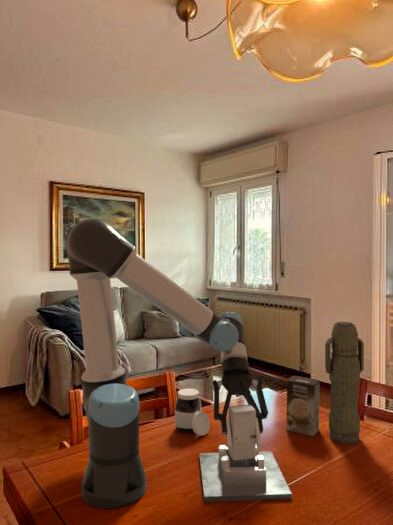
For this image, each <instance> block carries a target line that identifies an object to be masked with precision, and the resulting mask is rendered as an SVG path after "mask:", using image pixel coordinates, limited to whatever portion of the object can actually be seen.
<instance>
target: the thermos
mask: <svg viewBox="0 0 393 525" xmlns="http://www.w3.org/2000/svg"><path fill="white" fill-rule="evenodd" d="M364 344H365V342H364V341H363V339H361V338H359V333H358V330H357V327H356V324H354V323H352V322H347V321H337V322H336V323H334V324H333V327H332V329H331V337H329V338H327V340H326V342H325V346H324V347H325V348H324V350H325V351H324V354H325V357H324V359H325V360H324V361H325V362H324V364H325V366H324V367H325V373H326V374H329V375H328V377H329V381H330V409H329V413H328V429H329V436H330V437H329V436H328V437H329V438H330V439H331V440H332V441H333V442H336V443H340V444H344V445H355V444H357V443H359V441H360V433H361V417H360V415H359V384H360V382H361V373H362V372H363V371H364V369H365V368H364V367H365V366H364V365H365V362H364V359H365V357H364V356H365V355H364V354H365V353H364V352H365V350H364V349H365V348H364V347H365V345H364Z"/></svg>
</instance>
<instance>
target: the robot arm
mask: <svg viewBox="0 0 393 525" xmlns="http://www.w3.org/2000/svg"><path fill="white" fill-rule="evenodd" d="M65 251H66V253H67V259H68V268H69V269H68V270H69V275H70V277H72V278H73V279H74V280H75V281H76V286H77V295H78V305H79V312H80V313H79V314H80V322H81V323H80V324H81V332H82V340H83V341H82V342H83V350H84V351H83V352H84V359H85V368H86V369H85V371H84V372H83V374H81V377H80V378H81V388H82V396H81V399H82V401H81V402H82V406H83V409H84V411H85V416H86V419H87V424H88V462H87V465H86V469H85V471H84V474H83V477H82V481H81V487H80V488H81V489H80V490H81V498H82V500H83V501H84V502H85V503H86V504H88V505H90V506H92V507H95V508H100V509H117V508H120V507H125V506H128V505H131V504H133V503H135V502H136V501H138V500H139V499H140V498H141V497H143V496H144V494H145V493H146V491H147V474H146V471H145V469H144V466H143V463H142V460H141V457H140V456H141V455H140V408H141V407H140V406H141V405H140V399H139V393H138V392H137V391H136V389H135V388H133V387H132V386H130V385H128V383H127V375H126V374H127V373H126V368H125V367H123V366H122V365H120V360H119V352H118V343H117V342H118V341H117V334H116V331H117V330H116V323H115V322H116V321H115V312H114V304H113V303H114V302H113V296H112V295H113V294H112V284H111V279H117V280H119V281H120V282H122V283H123V284H124V285H125V286H127V287H128V288H130V289H131V290H132V291H134V292H135V293H137V294H138V295H139V296H141V297H142V298H144V299H145V300H146V301H148V302H149V303H150V304H152V305H153V306H155V308H157V309H159V310H161V312H163V313H164V314H166V315H167V316H169V317H170V318H171V319H173V320H174V321H176V322H177V323H178V324H179V332H180V333H181V335H182V336H186V337H188V338H193V339H196V340H198V341H201V342H202V343H204V344H206V345H208V346H209V347H211V348H213V349H214V350H215V351H220V363H221V374H222V377H221V380H220V379H219V380H215V379H214V380H212V385H211V388H212V390H213V394H214V395H213V420H215V421H219V422H220V425H221V433H222V435H226V442H227V446H226V447H228V449H231V447H232V441H231V431H230V420H229V418H227V415H228V414H229V406H231V405H230V404H231V400H232V397H233V396H236V395H237V396H239V395H240V396H243V398H244V399H245V401H246V404H247V405H251V406H252V407H253V408H254V409H255V410H256V446H257V449H259V450H260V449H261V447H262V439H261V434H263V432H264V425H263V420H266V419H267V417H268V415H269V411H268V407H267V403H266V398H265V394H264V391H263V380H262V379H260V378H259V379H258V380H257V379H253V378H252V376H251V374H250V366H249V361H248V354H247V352H248V351H247V348H246V340H245V331H244V329H245V328H244V325H243V324H244V323H243V320H242V318H241V316H240V315H239V314H238V313H236V312H234V311H230V312H223V313H221V314H217V313H216V312H214V311H213V310H212V309H210V308H209V307H207V305H205V304H204V303H202V302H201V301H200V300H198V299H197V298H196V297H195V296H193V295H191V294H190V293H189V291H187V290H185V289H184V288H183V287H182V286H180V285H179V284H177V283H176V282H175V281H174V280H172V279H171V278H170V277H168V276H167V275H166V274H165V273H163V272H161V271H160V270H159V269H158V268H157V267H155V266H154V265H153V264H151V263H150V262H148V261H147V260H146V259H144V258H143V257H142V256H140V254H138V253H137V252H136V247H135V246H134V245H133V244H132V243H131V242H129V240H127V239H126V238H125V237H124V236H122V234H120V233H119V232H118V231H117V230H115V229H114V227H113V226H111V225H110V224H109V223H107V222H105V221H104V220H101V219H98V218H97V219H96V218H88V219H87V218H86V219H83V220H81V221H79V222H78V223H76V224H75V225H74V226H73V227H72V228H71V229H70V230H69V231H68V233H67V235H66V238H65ZM222 386H223V387H224V389H225V391H227V394H226V397H225V400H224V405H223V409H222V412H221V413H220V390H221V388H222ZM251 386H253V388H254V389H255V393H256V397H257V401H258V405H257V403H256V401H255V399H254V397H253V395H252V392H251V389H250V387H251ZM258 406H259V407H258Z"/></svg>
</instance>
